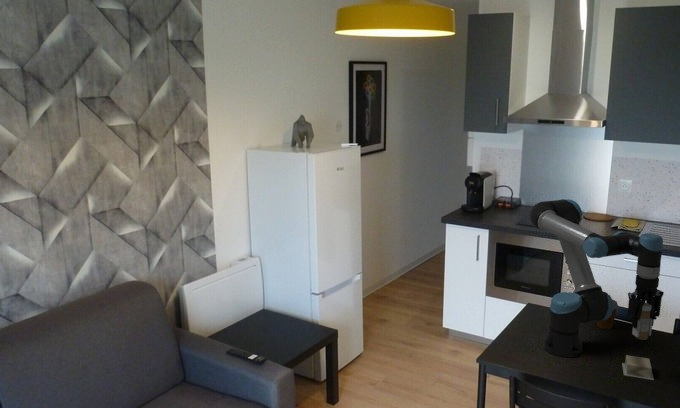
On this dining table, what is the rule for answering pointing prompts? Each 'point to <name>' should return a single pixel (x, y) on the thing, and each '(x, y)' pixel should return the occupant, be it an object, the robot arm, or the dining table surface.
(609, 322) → the disposable coffee cup
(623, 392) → the dining table surface
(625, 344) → the dining table surface
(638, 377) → the plate
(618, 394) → the dining table surface
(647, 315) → the sprinkles bottle
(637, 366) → the beech block
